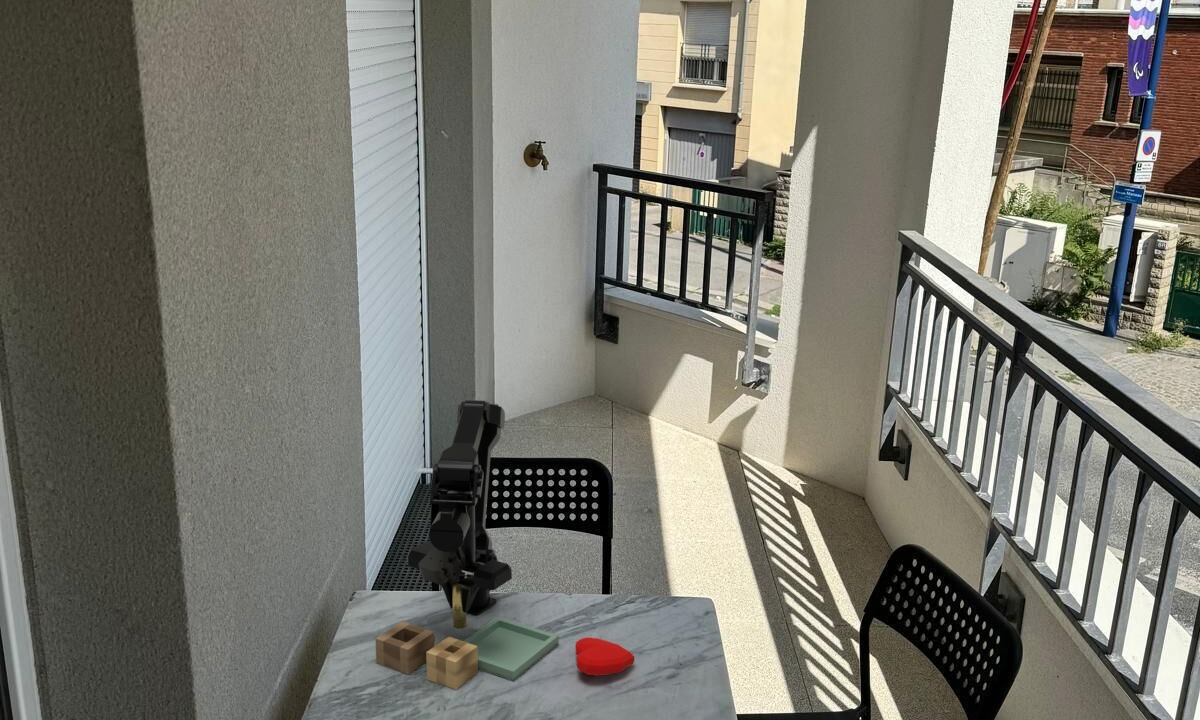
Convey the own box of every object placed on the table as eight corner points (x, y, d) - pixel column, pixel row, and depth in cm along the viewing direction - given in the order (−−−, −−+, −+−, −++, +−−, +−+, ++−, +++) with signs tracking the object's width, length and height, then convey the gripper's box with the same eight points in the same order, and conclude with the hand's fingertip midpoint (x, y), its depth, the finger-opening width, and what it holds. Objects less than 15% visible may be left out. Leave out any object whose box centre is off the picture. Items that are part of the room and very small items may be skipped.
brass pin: (458, 621, 194) (457, 579, 192) (469, 624, 193) (468, 583, 191) (450, 626, 192) (449, 585, 190) (461, 630, 191) (460, 588, 189)
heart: (630, 658, 192) (573, 653, 191) (633, 635, 192) (576, 630, 191) (636, 685, 180) (575, 680, 179) (639, 660, 180) (578, 655, 179)
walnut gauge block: (403, 645, 192) (402, 621, 191) (434, 656, 188) (434, 631, 187) (376, 662, 186) (375, 638, 185) (408, 674, 182) (407, 649, 181)
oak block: (449, 663, 186) (448, 636, 185) (477, 673, 183) (477, 646, 182) (426, 679, 181) (426, 652, 180) (456, 689, 178) (455, 662, 177)
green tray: (498, 625, 199) (498, 616, 199) (558, 644, 193) (558, 635, 192) (450, 659, 187) (450, 650, 187) (513, 681, 181) (513, 671, 181)
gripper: (385, 531, 186) (388, 614, 190) (474, 556, 177) (475, 643, 181) (426, 509, 195) (428, 590, 199) (513, 532, 186) (513, 616, 190)
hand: (459, 609), depth 192 cm, fingers closed on brass pin, 2 cm apart
